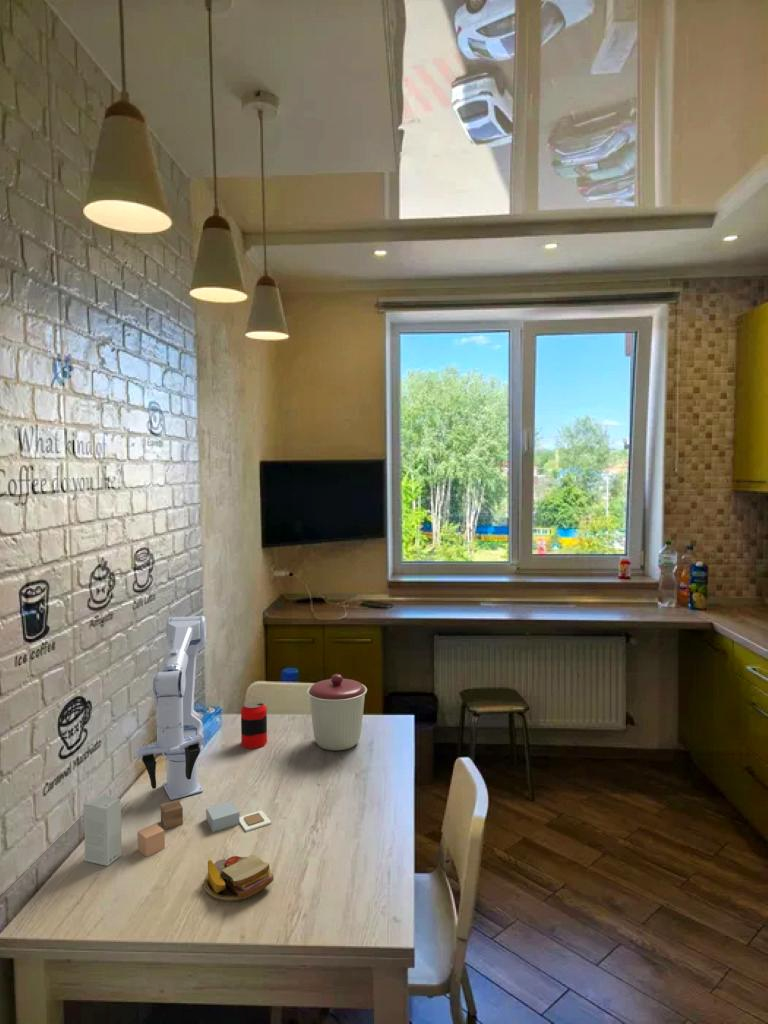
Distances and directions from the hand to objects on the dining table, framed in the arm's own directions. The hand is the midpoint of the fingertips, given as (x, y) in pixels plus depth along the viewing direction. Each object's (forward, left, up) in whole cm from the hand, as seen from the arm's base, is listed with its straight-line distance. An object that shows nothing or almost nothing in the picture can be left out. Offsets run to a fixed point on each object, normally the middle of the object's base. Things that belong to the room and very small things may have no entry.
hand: (171, 782), depth 135 cm
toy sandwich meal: (+29, +6, -10) cm, 31 cm away
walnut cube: (0, 0, -10) cm, 10 cm away
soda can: (-31, +31, -10) cm, 45 cm away
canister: (-17, +52, -10) cm, 56 cm away
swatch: (+10, +16, -9) cm, 21 cm away
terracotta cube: (+8, -6, -10) cm, 14 cm away
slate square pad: (+6, +10, -10) cm, 15 cm away
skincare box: (+6, -15, -10) cm, 19 cm away
